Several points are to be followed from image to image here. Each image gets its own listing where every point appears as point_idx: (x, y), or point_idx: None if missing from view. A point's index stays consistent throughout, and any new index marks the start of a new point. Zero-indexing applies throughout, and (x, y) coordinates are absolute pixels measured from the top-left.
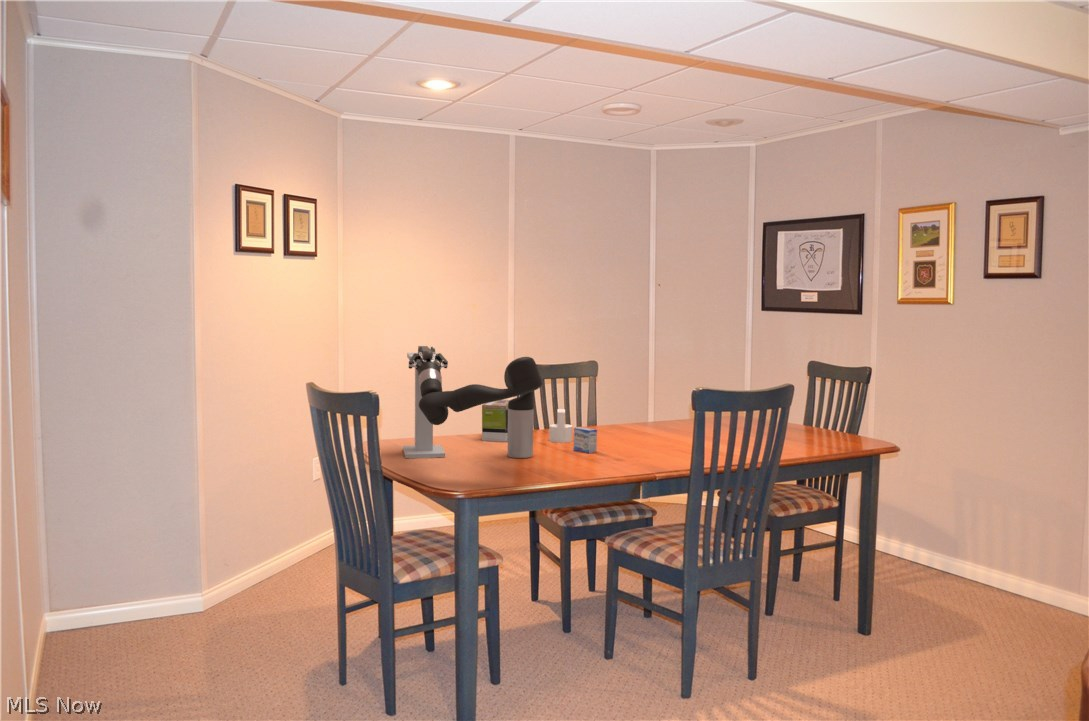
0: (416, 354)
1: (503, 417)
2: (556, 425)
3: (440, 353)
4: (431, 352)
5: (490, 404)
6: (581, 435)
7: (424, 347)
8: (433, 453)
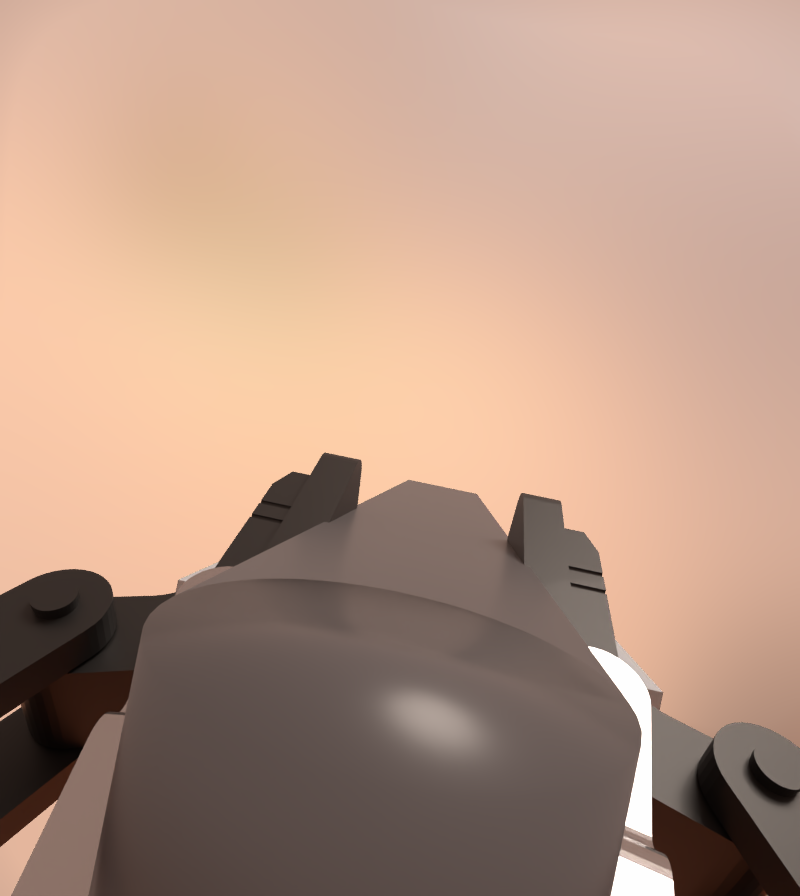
0: (79, 616)
1: None
2: None
3: (791, 742)
4: (575, 850)
5: None
6: None
7: (443, 496)
8: None
